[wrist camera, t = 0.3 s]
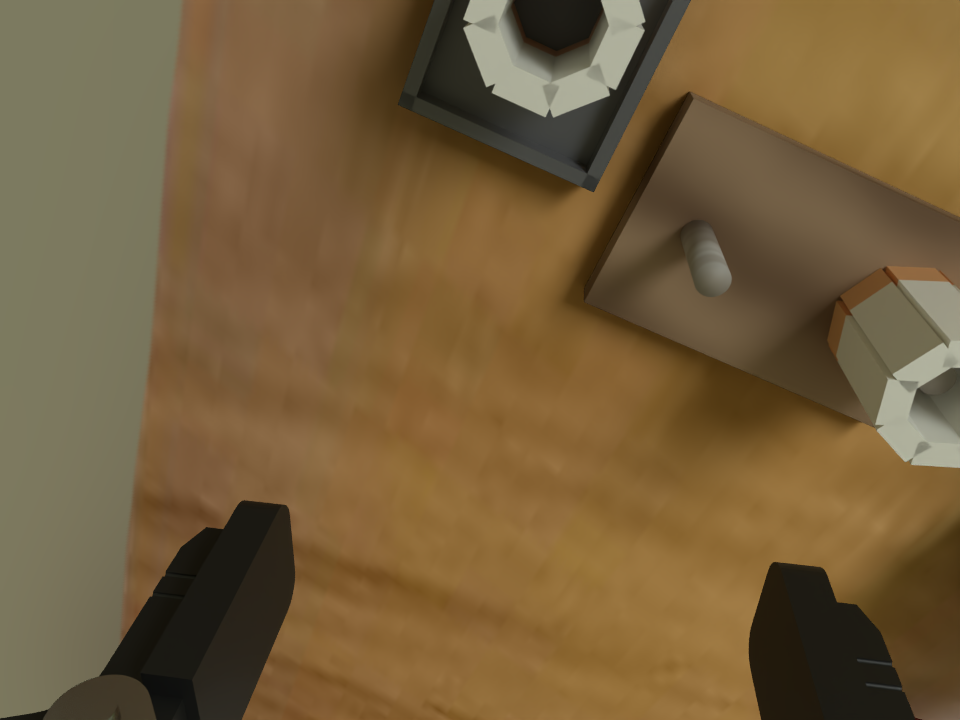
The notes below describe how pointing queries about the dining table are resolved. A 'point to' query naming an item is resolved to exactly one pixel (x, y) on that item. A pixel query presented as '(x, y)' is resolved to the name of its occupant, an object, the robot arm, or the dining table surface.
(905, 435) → the seated sleeve
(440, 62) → the feeder tray
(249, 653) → the robot arm
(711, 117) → the pin board
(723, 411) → the dining table surface
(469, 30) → the sleeve
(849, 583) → the dining table surface
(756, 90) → the dining table surface
